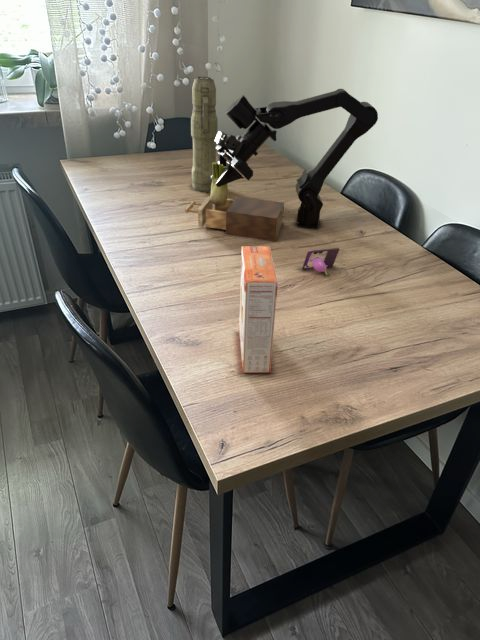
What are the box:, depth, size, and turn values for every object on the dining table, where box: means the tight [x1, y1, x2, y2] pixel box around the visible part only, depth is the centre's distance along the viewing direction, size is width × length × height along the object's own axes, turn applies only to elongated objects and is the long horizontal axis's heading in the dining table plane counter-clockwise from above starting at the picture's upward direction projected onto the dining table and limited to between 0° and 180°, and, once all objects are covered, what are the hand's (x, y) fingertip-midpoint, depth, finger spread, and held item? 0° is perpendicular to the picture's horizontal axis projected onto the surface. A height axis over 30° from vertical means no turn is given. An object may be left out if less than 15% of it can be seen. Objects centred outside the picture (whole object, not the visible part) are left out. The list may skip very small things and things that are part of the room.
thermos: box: [190, 76, 219, 193], centre depth 171 cm, size 9×12×35 cm
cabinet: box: [225, 195, 285, 242], centre depth 153 cm, size 15×13×7 cm
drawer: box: [184, 195, 234, 231], centre depth 154 cm, size 19×12×6 cm, turn 79°
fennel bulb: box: [209, 162, 229, 206], centre depth 147 cm, size 6×5×12 cm
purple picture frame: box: [301, 247, 340, 276], centre depth 133 cm, size 7×5×9 cm
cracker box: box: [238, 245, 279, 374], centre depth 98 cm, size 14×6×21 cm, turn 5°
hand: (214, 182), depth 147 cm, fingers closed on fennel bulb, 5 cm apart
